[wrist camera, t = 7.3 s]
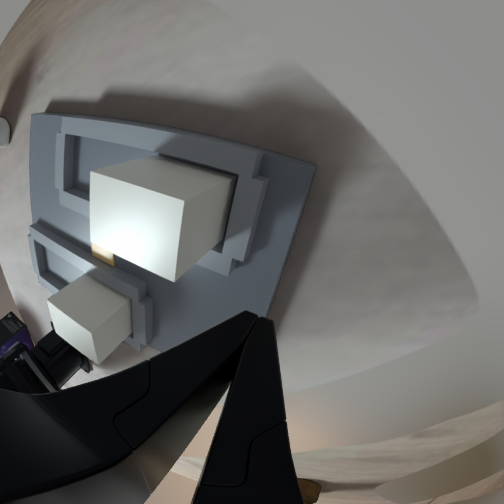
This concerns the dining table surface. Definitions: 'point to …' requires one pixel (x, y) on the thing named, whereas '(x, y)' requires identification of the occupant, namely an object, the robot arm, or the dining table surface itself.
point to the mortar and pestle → (309, 491)
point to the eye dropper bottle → (4, 132)
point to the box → (13, 334)
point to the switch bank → (135, 277)
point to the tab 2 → (159, 212)
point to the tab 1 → (91, 317)
